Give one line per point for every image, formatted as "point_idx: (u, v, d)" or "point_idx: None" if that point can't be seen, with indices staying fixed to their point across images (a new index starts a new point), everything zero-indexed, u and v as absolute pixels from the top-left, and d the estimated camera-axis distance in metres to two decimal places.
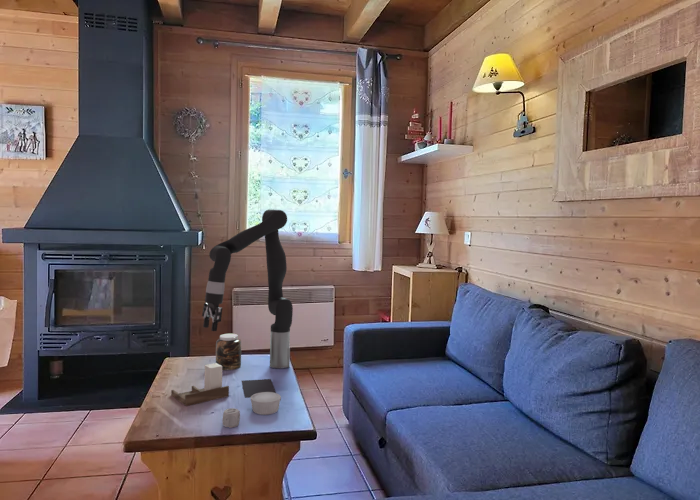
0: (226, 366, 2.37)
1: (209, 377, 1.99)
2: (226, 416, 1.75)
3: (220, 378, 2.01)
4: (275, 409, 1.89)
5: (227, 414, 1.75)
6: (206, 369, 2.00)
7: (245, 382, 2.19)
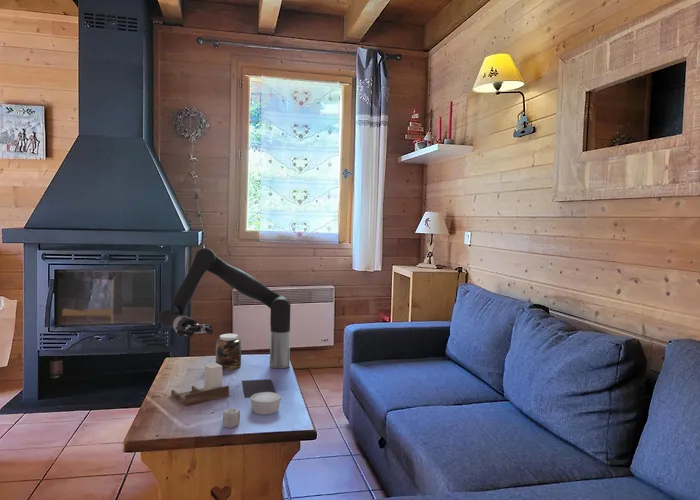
0: (226, 366, 2.37)
1: (209, 377, 1.99)
2: (226, 416, 1.75)
3: (220, 378, 2.01)
4: (275, 409, 1.89)
5: (227, 414, 1.75)
6: (206, 369, 2.00)
7: (245, 382, 2.19)
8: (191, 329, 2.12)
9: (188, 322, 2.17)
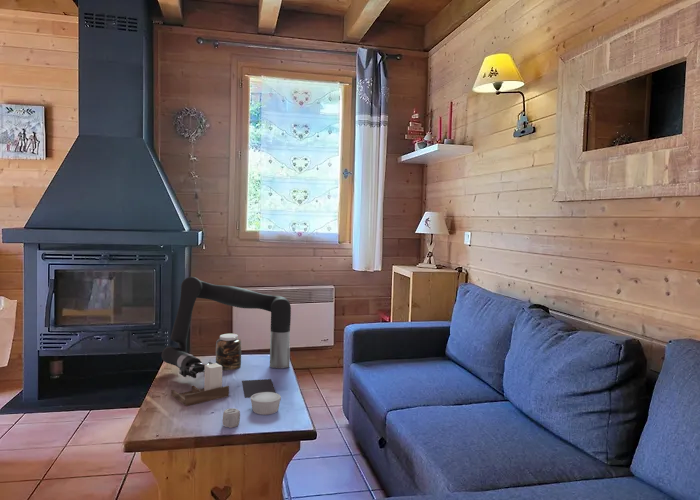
0: (226, 366, 2.37)
1: (209, 377, 1.99)
2: (226, 416, 1.75)
3: (220, 378, 2.01)
4: (275, 409, 1.89)
5: (227, 414, 1.75)
6: (206, 369, 2.00)
7: (245, 382, 2.19)
8: (195, 369, 2.10)
9: (192, 361, 2.15)
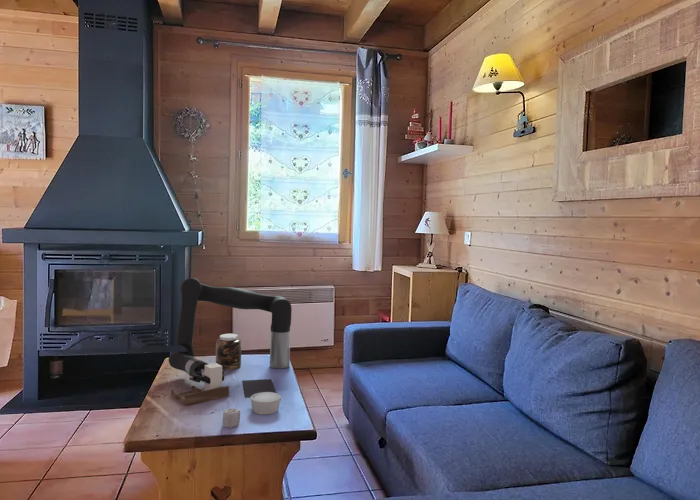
0: (226, 366, 2.37)
1: (209, 377, 1.99)
2: (226, 416, 1.75)
3: (220, 378, 2.01)
4: (275, 409, 1.89)
5: (227, 414, 1.75)
6: (206, 369, 2.00)
7: (245, 382, 2.19)
8: None
9: (201, 366, 2.08)
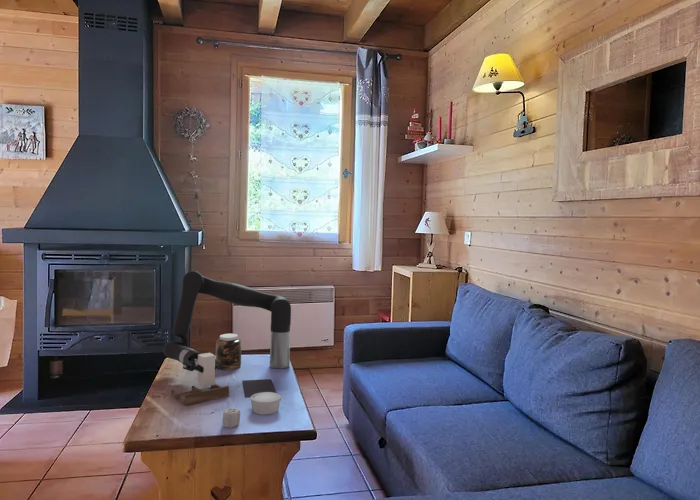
0: (226, 366, 2.37)
1: (202, 366, 2.03)
2: (226, 416, 1.75)
3: (213, 367, 2.05)
4: (275, 409, 1.89)
5: (227, 414, 1.75)
6: (200, 358, 2.05)
7: (246, 382, 2.19)
8: None
9: (194, 356, 2.13)
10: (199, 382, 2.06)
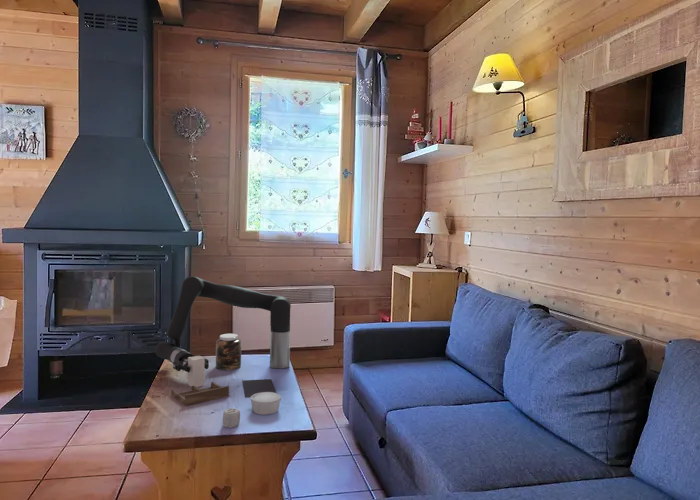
0: (226, 366, 2.37)
1: (192, 368, 2.10)
2: (226, 416, 1.75)
3: (202, 370, 2.13)
4: (275, 409, 1.89)
5: (227, 414, 1.75)
6: (189, 361, 2.12)
7: (246, 381, 2.19)
8: None
9: (185, 356, 2.20)
10: (189, 384, 2.13)
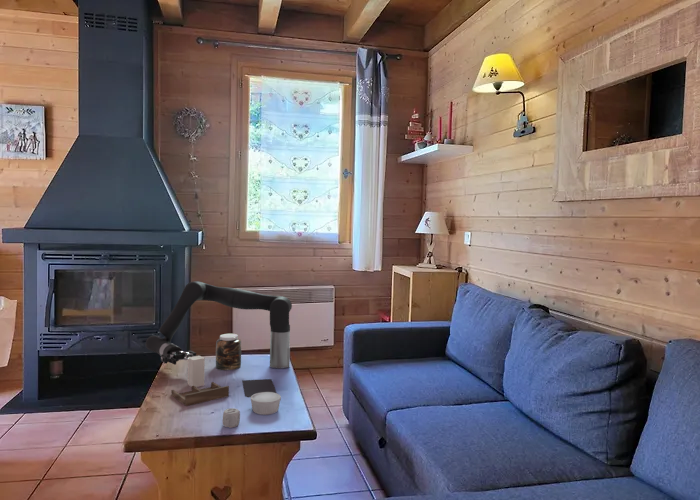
0: (226, 366, 2.37)
1: (192, 368, 2.10)
2: (226, 416, 1.75)
3: (202, 370, 2.13)
4: (275, 409, 1.89)
5: (227, 414, 1.75)
6: (189, 361, 2.12)
7: (246, 381, 2.20)
8: (176, 356, 2.25)
9: (173, 349, 2.30)
10: (189, 384, 2.13)
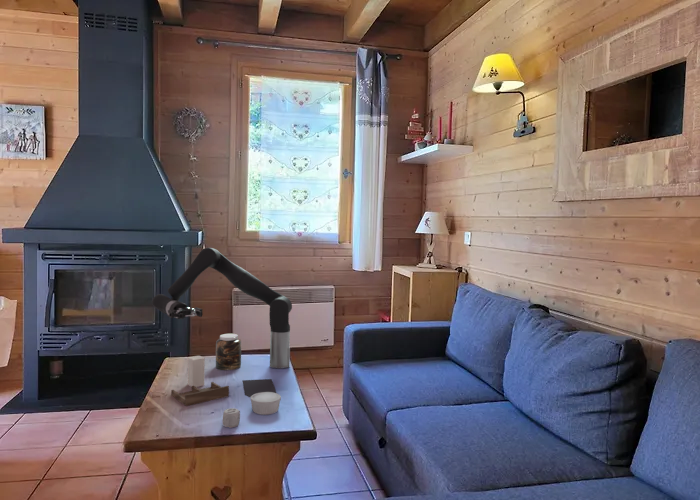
0: (226, 366, 2.37)
1: (192, 368, 2.10)
2: (226, 416, 1.75)
3: (202, 370, 2.13)
4: (275, 409, 1.89)
5: (227, 414, 1.75)
6: (189, 361, 2.12)
7: (246, 381, 2.20)
8: (182, 312, 2.26)
9: (179, 306, 2.30)
10: (189, 384, 2.13)
